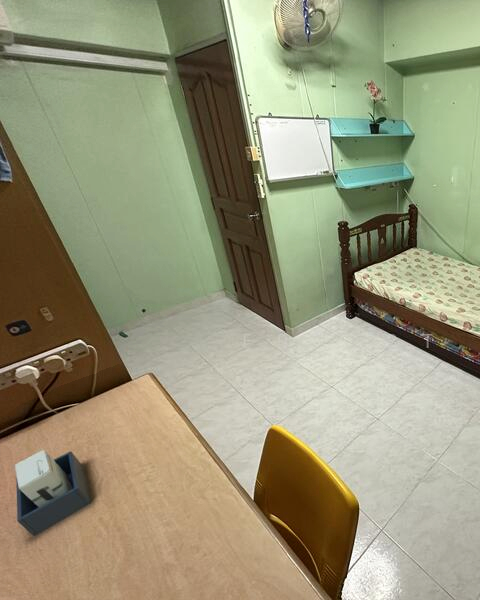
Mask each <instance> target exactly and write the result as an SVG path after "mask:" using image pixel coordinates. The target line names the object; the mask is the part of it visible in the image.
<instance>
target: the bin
mask: <svg viewBox="0 0 480 600" xmlns="http://www.w3.org/2000/svg"><path fill="white" fill-rule="evenodd" d="M53 460H54V461H55V462H56V463H57V464H58V465H59V467H60V468H61V469H62V470H63V471H64V472H65V473H66V474H67V476H68V477H69V478H70V479H71V482H72V485H73V489H72V490H70V491H68V492H66V493H64V494H62V495H61V496H59V497H57V498H55V499H53V500H52V501H50V502H48V503H46V504H44V505H42V506H41V507H38V506H37V505H36V504H35V503H34V502H33V501H32V500H31V499H29V498H28V497H27V496H26V495H25V494H24V493H23V492H22V491H21V490H20V489H19V486H18V481H17V477H16V520H17V523H18V524H20V525H21V526H22V527H23V528H24V529H25V530H26V531H27V532H28V533H30V534H31V535H32V536H33V537H36V536H38V535H39V534H41V533H43V532H45V531H46V530H48V529H49V528H51V527H53V526H55V525H56V524H58V523H60V522H61V521H63V520H65V519H66V518H68V517H70V516H72V515H74V514H75V513H77V512H78V511H80V510H81V509H84V508H86V507H87V506H89V505H90V504H92V502H91V495H90V492H89V487H88V483H87V479H86V474H85V469H84V466H83V464H82V463H81V462H80V460H79V459H78V458H77V457H76V456H75V454H74V453H73V451H68V452H65V453H64V454H62V455H60V456H58V457H56V458H54V459H53Z"/></svg>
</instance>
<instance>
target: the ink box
mask: <svg viewBox="0 0 480 600" xmlns="http://www.w3.org/2000/svg"><path fill="white" fill-rule="evenodd" d="M14 470H15V475H16V478H17V481H18V486H19V489H20V490H21V491H22V492H23V493H24V494H25V495H26V496H27V497H28V498H29V499H31V500H32V501H33V502H34V503H35V504H36V505H37V506H38V507H41V506H42V505H44V504H46V503H48V502H50V501H52V500H53V499H55V498H57V497H59V496H61V495H62V494H64V493H66V492H68V491H70V490H72V489H73V485H72V482H71V479H70V478H69V477H68V476H67V474H66V473H65V472H64V471H63V470H62V469H61V468H60V467H59V465H58V464H57V463H56V462H55V461H54V459H53V458H52V456H51V455H50V454H49V453H48V452H47V451H46V450H45V449H42V450H40V451H38V452H36V453H34V454H32V455H30V456H29V457H27V458H24V459H23V460H20V461H19V462H17V463H15V464H14Z"/></svg>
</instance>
